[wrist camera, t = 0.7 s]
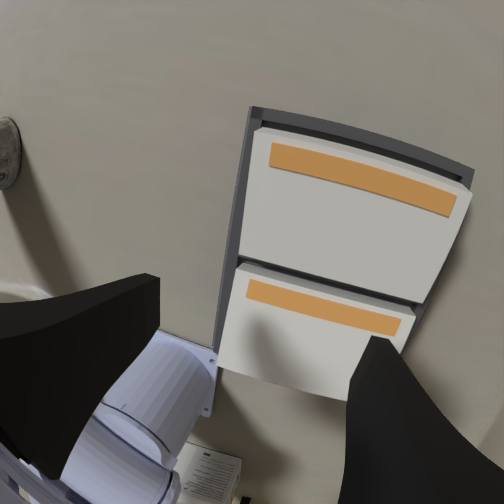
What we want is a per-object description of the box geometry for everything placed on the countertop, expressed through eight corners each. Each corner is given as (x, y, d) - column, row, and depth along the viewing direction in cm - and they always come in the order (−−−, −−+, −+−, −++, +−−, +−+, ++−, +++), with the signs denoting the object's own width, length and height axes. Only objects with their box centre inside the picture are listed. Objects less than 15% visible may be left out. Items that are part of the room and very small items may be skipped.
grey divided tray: (377, 362, 20) (380, 396, 17) (226, 322, 23) (208, 350, 19) (454, 165, 15) (479, 171, 11) (262, 111, 17) (246, 105, 13)
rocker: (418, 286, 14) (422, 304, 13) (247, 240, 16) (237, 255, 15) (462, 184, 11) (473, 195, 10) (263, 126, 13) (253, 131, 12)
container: (240, 481, 33) (209, 556, 21) (187, 465, 34) (150, 534, 22) (242, 457, 30) (206, 547, 18) (182, 439, 31) (136, 519, 20)
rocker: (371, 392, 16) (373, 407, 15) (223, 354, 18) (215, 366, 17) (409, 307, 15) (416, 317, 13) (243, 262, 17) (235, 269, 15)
